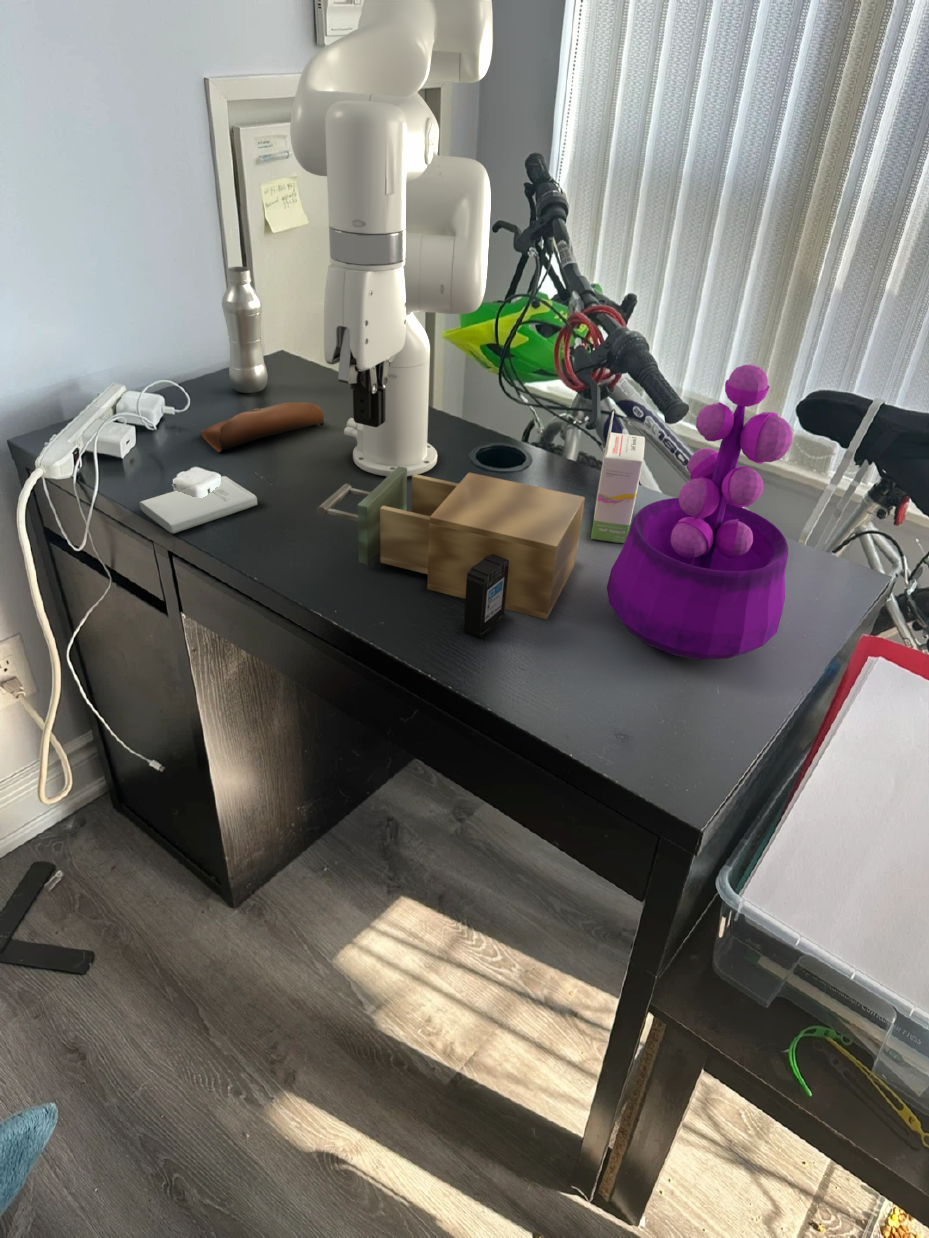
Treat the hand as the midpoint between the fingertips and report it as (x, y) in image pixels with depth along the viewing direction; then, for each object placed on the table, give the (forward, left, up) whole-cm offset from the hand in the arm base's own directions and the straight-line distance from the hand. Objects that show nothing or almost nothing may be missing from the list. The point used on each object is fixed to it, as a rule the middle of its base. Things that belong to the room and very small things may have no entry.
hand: (369, 422), depth 94 cm
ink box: (+22, +24, -17) cm, 37 cm away
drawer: (+3, +2, -16) cm, 17 cm away
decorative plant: (+38, +7, -17) cm, 42 cm away
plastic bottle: (-49, +32, -17) cm, 61 cm away
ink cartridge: (+19, -5, -17) cm, 26 cm away
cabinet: (+16, +5, -17) cm, 24 cm away
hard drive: (-25, -4, -17) cm, 31 cm away
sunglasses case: (-35, +20, -17) cm, 44 cm away
